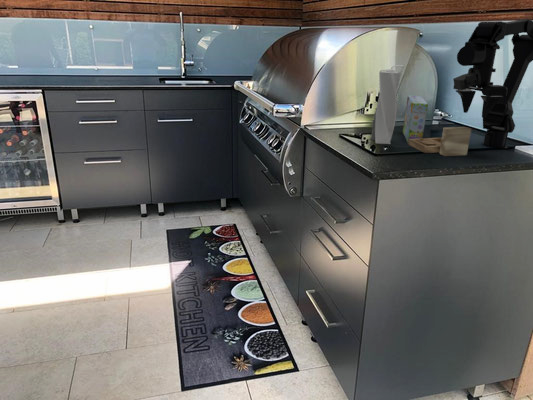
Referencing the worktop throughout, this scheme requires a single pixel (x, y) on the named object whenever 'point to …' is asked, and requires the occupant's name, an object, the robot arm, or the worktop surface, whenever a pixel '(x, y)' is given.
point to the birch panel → (455, 141)
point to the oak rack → (423, 147)
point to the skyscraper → (386, 106)
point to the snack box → (415, 117)
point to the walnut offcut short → (426, 143)
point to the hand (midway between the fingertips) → (474, 115)
